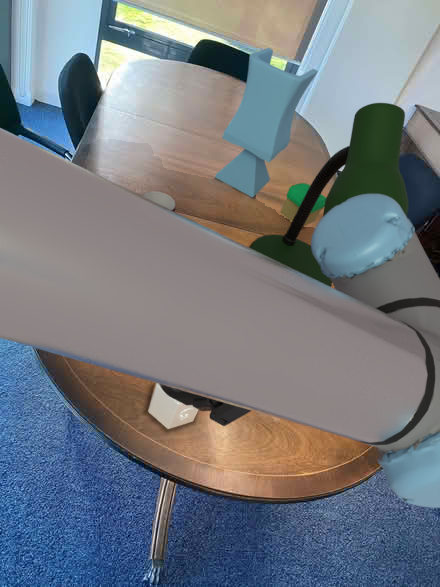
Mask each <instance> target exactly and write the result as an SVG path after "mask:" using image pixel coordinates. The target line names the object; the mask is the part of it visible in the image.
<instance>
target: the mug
mask: <svg viewBox="0 0 440 587" xmlns="http://www.w3.org/2000/svg"><path fill="white" fill-rule="evenodd" d="M141 196H143V197H145V198H147V199H149V200H151V201H153V202H155V203H157V204H159V205H161V206H163V207H166V208H168V209H170V210H172V211H174V212H175V211H176V206H177V203H176V200H175V199H174V198H173V197H172V196H171V195H170V194H168V193H165V192H163V191H159V190H149V191H146V192H144V193H143V194H142V195H141Z"/></svg>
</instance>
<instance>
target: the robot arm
mask: <svg viewBox="0 0 440 587" xmlns="http://www.w3.org/2000/svg"><path fill="white" fill-rule="evenodd" d="M415 229H416V228H415V227H414V224H413V222H412V219H410V218H409V217H408V216H407V217H406V215H405V214H404V212H403V210H402V208H401V207H400V205H399V204H398V203H397V202H396V201H395V200H394V199H392V198H390V197H388V196H386V195H382V194H362V195H358V196H355V197H352V198H349V199H348V200H346V201H345V202H343V203H342V204H340V205H337V206H335V207H334V208H332V209H331V210H330V211H329V212H328V213H327V214H326V215H324V217H323V216H322V217H321V219H320V220H319V221H318V223H317V224H316V225H315V227H314V230H313V232H312V235H311V239H310V246H311V250H312V253H313V255H314V257H315V259H316V260H317V262H318V263H319V265H320V267H321V271H322V273H323V274H324V275H326V276H327V277H329V278H330V280H331V281H332V285H333V287H332V286H331V287H330V286H328V285H325V284H323V283H321V282H319V281H317V280H315V279H313V278H311V277H309V276H307V275H305V274H303V273H301V272H298V271H296V270H294V269H292V268H290V267H288V266H286V265H284V264H282V263H280V262H278V261H276V260H274V259H271V258H269V257H267V256H265V255H263V254H261V253H259V252H257V251H255V250H253V249H251V248H249V247H250V246H249V247H248V246H247V245H245V244H243V243H241V242H239V241H236V240H234V239H232V238H230V237H228V236H225V235H223V234H222V233H219V232H218V231H215V230H213V229H211V228H209V227H208V226H205V225H203V224H201V223H199V222H197V221H195V220H193V219H190V218H188V217H187V216H184V215H182V214H180V213H178V212H174V211H172V210H170V209H168V208H166V207H163V206H161V205H159V204H157V203H155V202H153V201H151V200H149V199H147V198H145V197H143V196H142V195H141V194H139V193H136V192H134V191H132V190H130V189H128V188H126V187H124V186H122V185H120V184H118V183H115V182H113V181H112V180H110V179H107V178H105V177H103V176H101V175H99V174H97V173H95V172H93V171H90V170H89V169H86V168H85V167H83V166H81V165H78V164H76V163H74V162H72V161H70V160H68V159H66V158H64V157H62V156H60V155H57V154H55V153H53V152H51V151H49V150H47V149H46V148H43V147H41V146H38V145H37V144H34V143H32V142H30V141H28V140H26V139H24V138H22V137H20V136H18V135H17V134H16V135H15V133H12V132H10V131H8V130H6V129H3V128H1V127H0V339H3V340H6V341H9V342H13V343H17V344H20V345H24V346H27V347H31V348H34V349H37V350H41V351H44V352H48V353H51V354H54V355H58V356H61V357H65V358H68V359H72V360H74V361H75V360H76V361H79V362H83V363H86V364H89V365H92V366H95V367H100V368H103V369H107V370H110V371H114V372H117V373H121V374H124V375H127V376H130V377H134V378H138V379H141V380H145V381H148V382H152V383H154V384H155V383H158V384H162V385H165V386H168V387H172V388H175V389H179V390H182V391H186V392H183V393H175V394H174V399H175V400H177V401H179V402H181V403H183V404H185V405H193V407H195V408H197V409H198V411H200V412H210V413H209V416H208V417H209V420H211V421H213V422H215V423H217V424H219V425H220V426H223V427H226V426H228V425H230V424H231V423H234V422H236V421H237V420H238V419H240V418H242V417H244V416H245V415H247V414H249V413H250V412H256V413H258V414H263V415H266V416H269V417H272V418H277V419H279V420H283V421H287V422H291V423H293V424H297V425H301V426H303V427H307V428H311V429H314V430H318V431H321V432H325V433H328V434H331V435H335V436H339V437H342V438H346V439H348V440H351V441H356V442H358V443H362V444H365V445H367V446H370V447H373V448H377V451H378V455H379V457H378V458H377V462H378V465H380V466H381V468H382V469H383V473H384V476H385V479H386V480H387V481H386V482H387V483H388V486H389V488H390V489H391V490H392V491H393V493H394V494H395V495H396V496H397V497H398V498H399V499H400V500H401V501H403V502H405V503H407V504H409V505H411V506H417V507H422V508H432V509H433V508H435V509H436V508H437V509H440V276H439V275H438V273H437V272H436V270H435V268H434V266H433V265H432V262H431V260H430V259H429V257H428V255H427V253H426V251H425V250H424V247H423V246H422V244H421V242H420V239H419V237H418V235H417V233H416V230H415Z"/></svg>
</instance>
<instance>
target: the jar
mask: <svg viewBox="0 0 440 587" xmlns="http://www.w3.org/2000/svg"><path fill="white" fill-rule="evenodd" d="M183 392H186V391H182V390H179V389H175V388H172V387H168V386H165V385H162V384H158V383H155V382H154V386H153V389H152V393H151V397H150V402H149V405H148V410H147V412H148V414H150V415H151V416H152V417H153V418H154V419H156V420H157V421H158V422H159V423H160V424H161V425H162V426H164V427H165V428H166V429H167V430H171V429H174V428H177V427H180V426H183V425H186V424H189V423H192V422H194V421H195V418H196V416H197V414H198V412H199V410H198V409H197V408H195V407H193V405H185V404H183V403H181V402H179V401H177V400H175V399H174V394H175V393H183Z"/></svg>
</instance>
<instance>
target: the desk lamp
mask: <svg viewBox="0 0 440 587" xmlns="http://www.w3.org/2000/svg"><path fill="white" fill-rule="evenodd" d="M405 118H406V111H405V110H404V109H403V108H402V107H400V106H399V105H396V104H394V103H388V102H374V103H373V102H372V103H370V104H366V105H363V106H361V108H359V109H358V110H357V111H356V112H355V114H354V117H353V122H352V127H351V128H352V129H351V134H350V140H349V145H348V146H346V147H343V148H341V149H340V150H338V151H337V152H335V153H334V154H333V155H332V156H331V157H330V158H329V159H328V160H327V161H326V162H325V163H324V165H323V166H322V167H321V168H320V170H319V171H318V173H317V174H316V176H314V179H313V180H312V182H311V183H310V184H309V185H310V187H309V189H308V191H307V193H306V195H305V197H304V199H303V201H302V203H301V205H300V207H299V209H298V211H297V213H296V215H295V217H294V219H293V221H291V222H290V225H289V227H288V229H287V231H286V232H285V233H284V235H283V234H266V235H265V234H264V235H262V236H259V237H257V238H256V239H255V240H253V241H252V242H251V244H250V246H249V248H251V249H253V250H255V251H257V252H259V253H261V254H263V255H265V256H267V257H269V258H271V259H274V260H276V261H278V262H280V263H282V264H284V265H286V266H288V267H290V268H292V269H294V270H296V271H298V272H301V273H303V274H305V275H307V276H309V277H311V278H313V279H315V280H317V281H319V282H321V283H323V284H325V285H328V286H330V287H332V285H333V283H332V281H331V280H330V278H329V277H327V276H326V275H324V274H323V273H322V271H321V267H320V265H319V263H318V262H317V260H316V259H315V257H314V255H313V253H312V250H311V244H309V243H308V242H305V241H303V240H301V239H298V237H299V235H300V233H301V231H302V229H303V226H304V224H305V222H306V220H307V218H308V216H309V215H310V213H311V211H312V209H313V207H314V205H315V203H316V202H317V200H318V198H319V196H320V194H321V195H322V193H323V191H324V189H325V188H326V187H327V185H328V184H329V183H330V181H331V180H332V179H333V177H334V176H335V175H336V174H337V172H338V171H339V170H340V169H342V168H343V169H342V170H341V171H340V172H339V173H338V175H337V177H336V178H335V179H334V182H333V184H332V186H331V187H330V189H329V192H328V194H327V196H326V200H325V206H324V208H323V213H322V218H323V217H324V215H326V214H327V213H328V212H329V211H330V210H331V209H332V208H334V207H335V206H337V205H340V204H342V203H343V202H345V201H346V200H348V199H349V198H352V197H355V196H358V195H362V194H382V195H386V196H388V197H390V198H392V199H394V200H395V201H396V202H397V203H398V204H399V205H400V207H401V208H402V210H403V212H404V214H405V215H406V217H407V218H408V213H409V205H410V204H409V197H408V192H407V188H406V184H405V180H404V178H403V175H402V173H401V172H400V154H401V145H402V139H403V132H404V124H405ZM304 227H305V226H304Z"/></svg>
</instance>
